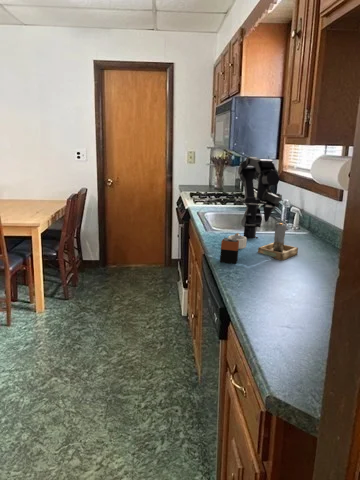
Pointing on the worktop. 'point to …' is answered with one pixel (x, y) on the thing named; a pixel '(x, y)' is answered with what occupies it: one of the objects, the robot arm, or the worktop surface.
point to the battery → (229, 250)
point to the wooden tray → (287, 252)
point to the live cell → (279, 237)
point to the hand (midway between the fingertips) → (260, 221)
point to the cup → (240, 241)
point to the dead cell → (237, 236)
